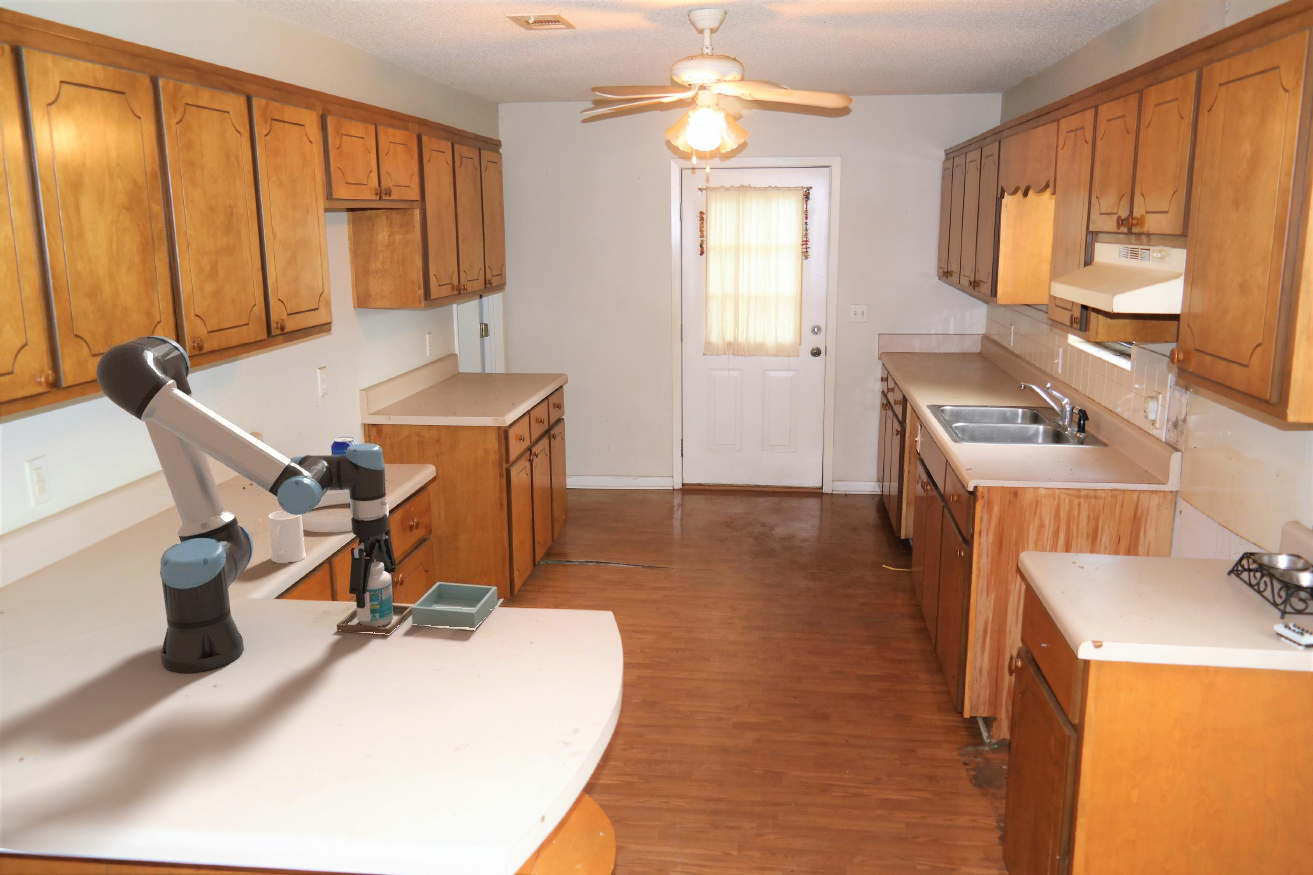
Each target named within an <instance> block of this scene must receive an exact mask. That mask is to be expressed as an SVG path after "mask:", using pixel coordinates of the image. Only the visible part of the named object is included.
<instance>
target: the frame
mask: <svg viewBox="0 0 1313 875" xmlns="http://www.w3.org/2000/svg"><path fill="white" fill-rule="evenodd" d="M412 606H413V605H402V604H393V613H402V614H401V615H399V617H398V618H397V619H395V621H394V622H393V623H391V624H390V625H389V627H383V626H380V627H372V626H363V625H361V624H360V625H359V624H350V623H351V622H352V621H353V620H354V619H355V618H357V607H355V609H353V610H352V611H351V612H349V614H347V615H346V616H345V617H344V618H343V619H341V620H340V621H339V622H338V623H337V624H336V631H337V630H341V631H340V632H343V631H351V632H350V633H354V632H373V633H374V632H375V633H385V634H390V633H391V632H392V631H393V630H394V629H395V628H397V626H398V625H400V624H401V623H402V622H403V621H404V620H405V619H406V620H407V619H409V618H410V617H411V616H412V609H411V607H412ZM406 620H405V621H406ZM405 621H404V622H405ZM349 622H350V623H349ZM404 622H403V623H404ZM348 623H349V624H348ZM403 623H402V624H403ZM402 624H401V625H402ZM401 625H400V626H401ZM397 629H398V628H397Z"/></svg>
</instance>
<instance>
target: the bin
mask: <svg viewBox="0 0 1313 875" xmlns="http://www.w3.org/2000/svg"><path fill="white" fill-rule="evenodd" d="M411 606H412V607H411V609H412V614H411V625H412V624H417V625H431V626H449V627H469V628H475V627H476V626H477V625H478V624H479V623H480V622H481V621H482V620H483V619H484V618H485V617H486V618H488V616H489V615H490V614H491V613H492V611H493V610H494V609H495V608H496V606H498V587H497V586H491V585H490V586H489V585H478V584H466V583H454V582H453V583H452V582H443V581H442V582H441V581H437V582H436V583H435V584H434V585H433V586H432V587H431V588H430V589H429V590H427V592H426V593H425V594H424V595H423V596H421V597H420V599H418V601H416V602H415V603H414V604H413V605H411ZM435 607H461V608H435ZM462 608H475V609H462ZM490 609H493V610H490Z"/></svg>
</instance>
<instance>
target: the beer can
mask: <svg viewBox="0 0 1313 875" xmlns="http://www.w3.org/2000/svg"><path fill="white" fill-rule="evenodd" d="M355 444H358V442H357V441H356V438H355V437H354V436H339V437H335V438H334V439H333V442H332V443H331V445H330V449H331V450H330V452H331V455H346V453H347V448H348V447H350V446H352V445H355Z"/></svg>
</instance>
